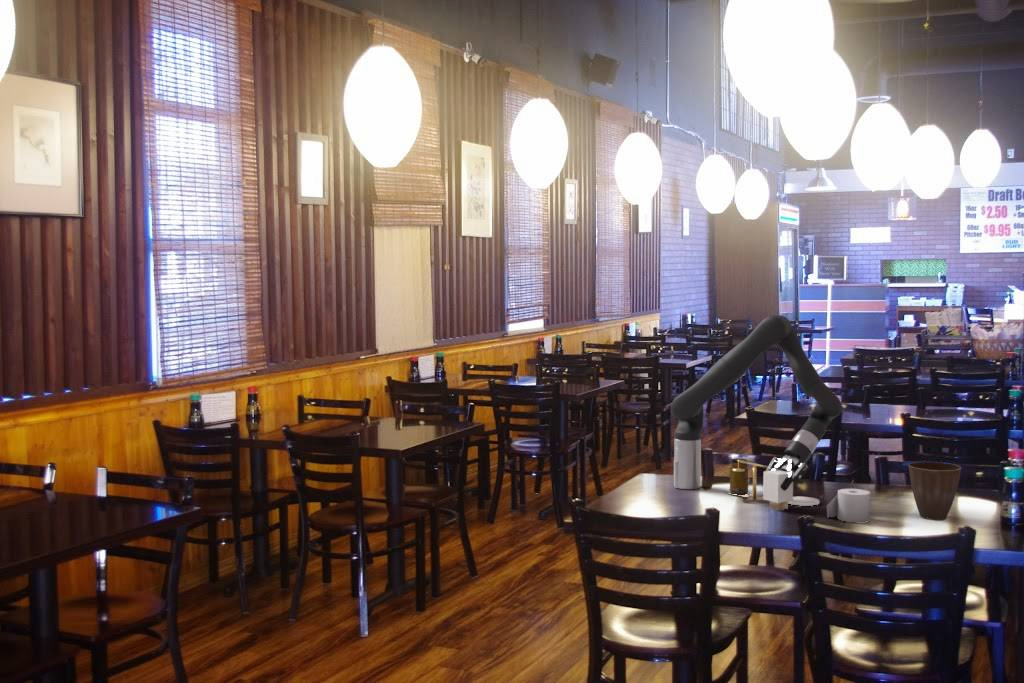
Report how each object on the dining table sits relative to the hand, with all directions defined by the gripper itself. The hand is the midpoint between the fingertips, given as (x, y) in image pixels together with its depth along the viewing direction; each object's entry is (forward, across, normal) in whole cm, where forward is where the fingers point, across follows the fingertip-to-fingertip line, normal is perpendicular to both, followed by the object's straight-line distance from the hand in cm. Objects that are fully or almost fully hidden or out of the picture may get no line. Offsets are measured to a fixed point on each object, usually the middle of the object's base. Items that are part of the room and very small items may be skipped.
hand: (774, 486), depth 330 cm
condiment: (+1, -23, +10) cm, 25 cm away
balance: (+3, -12, +7) cm, 14 cm away
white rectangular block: (+2, 0, +4) cm, 5 cm away
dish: (-5, -2, +15) cm, 16 cm away
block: (+4, 0, +6) cm, 7 cm away
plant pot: (-18, +34, +28) cm, 48 cm away
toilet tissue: (-1, +22, +12) cm, 25 cm away
